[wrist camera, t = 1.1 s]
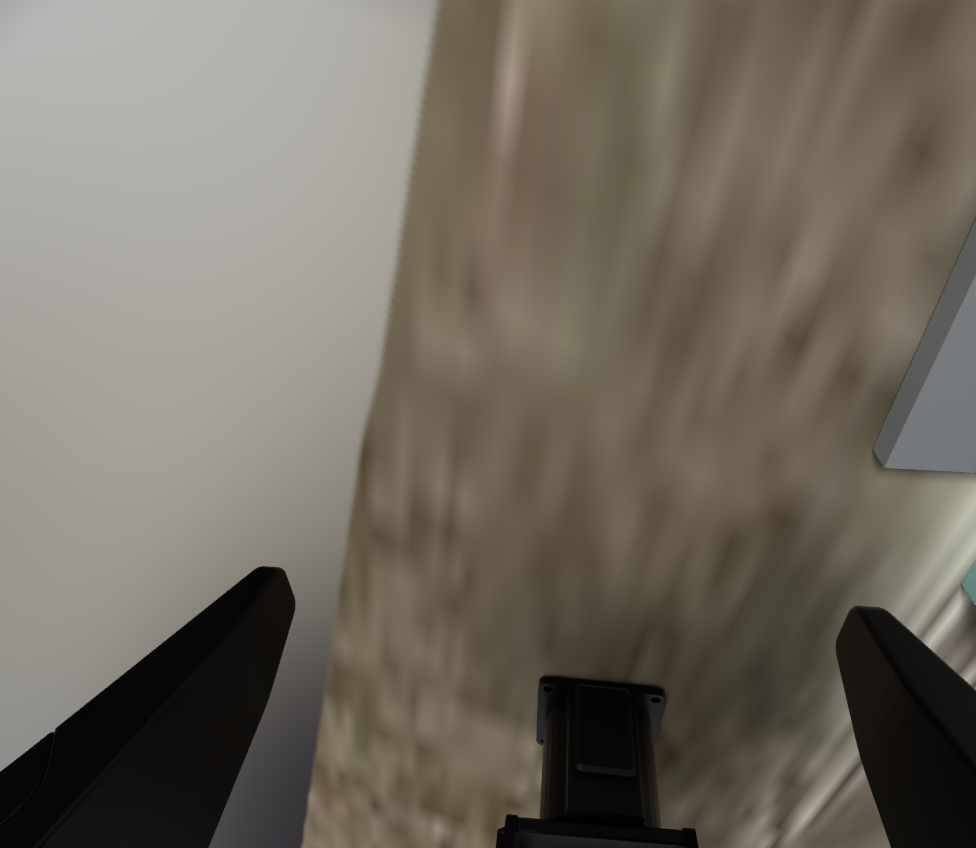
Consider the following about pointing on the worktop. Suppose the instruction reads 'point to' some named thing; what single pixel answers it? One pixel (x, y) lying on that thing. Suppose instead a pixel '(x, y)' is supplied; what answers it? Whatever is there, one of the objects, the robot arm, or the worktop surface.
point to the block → (970, 583)
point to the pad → (939, 384)
